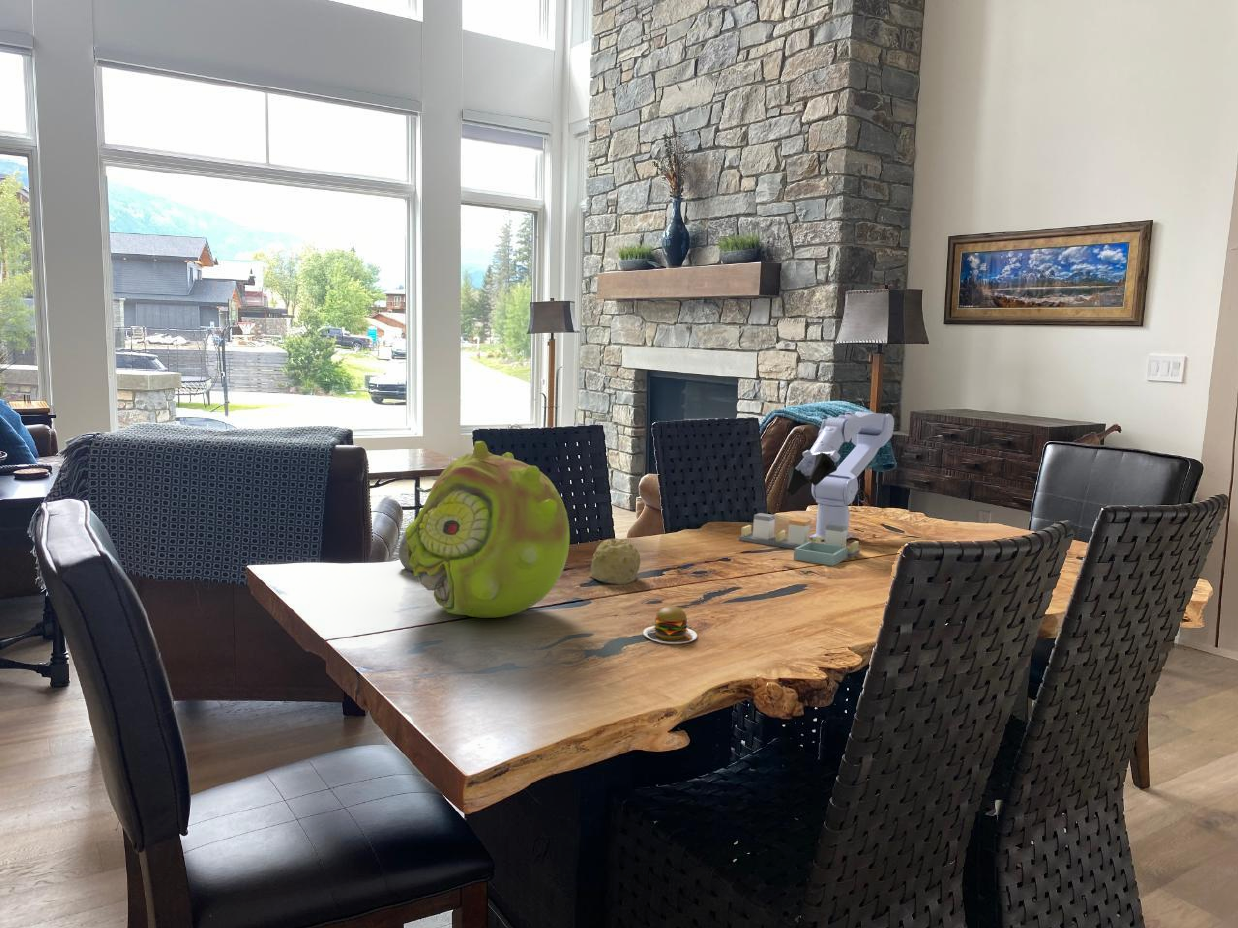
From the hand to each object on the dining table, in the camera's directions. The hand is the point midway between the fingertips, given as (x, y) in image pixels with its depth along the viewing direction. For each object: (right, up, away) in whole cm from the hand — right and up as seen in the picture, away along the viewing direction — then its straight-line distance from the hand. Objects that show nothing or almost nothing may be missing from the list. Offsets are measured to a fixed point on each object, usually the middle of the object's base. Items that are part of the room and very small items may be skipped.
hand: (801, 487), depth 221 cm
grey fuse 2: (+8, -14, +2) cm, 17 cm away
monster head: (-65, -21, -57) cm, 89 cm away
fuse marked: (+1, -13, +7) cm, 15 cm away
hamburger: (-34, -24, -65) cm, 77 cm away
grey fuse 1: (-7, -12, +11) cm, 18 cm away
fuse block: (+1, -14, +7) cm, 16 cm away
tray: (+4, -16, -5) cm, 17 cm away
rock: (-43, -18, -30) cm, 55 cm away
